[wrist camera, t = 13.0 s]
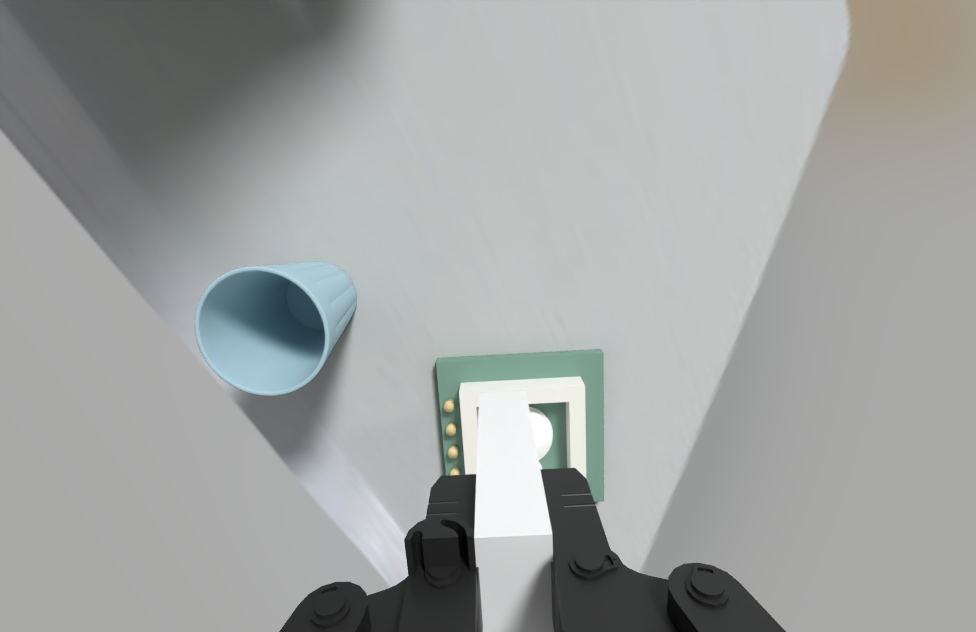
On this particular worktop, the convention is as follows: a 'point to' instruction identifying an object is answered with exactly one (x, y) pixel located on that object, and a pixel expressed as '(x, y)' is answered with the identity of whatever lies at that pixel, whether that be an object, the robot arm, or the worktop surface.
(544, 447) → the chess piece
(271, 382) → the cup
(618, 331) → the worktop surface
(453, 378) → the header board
